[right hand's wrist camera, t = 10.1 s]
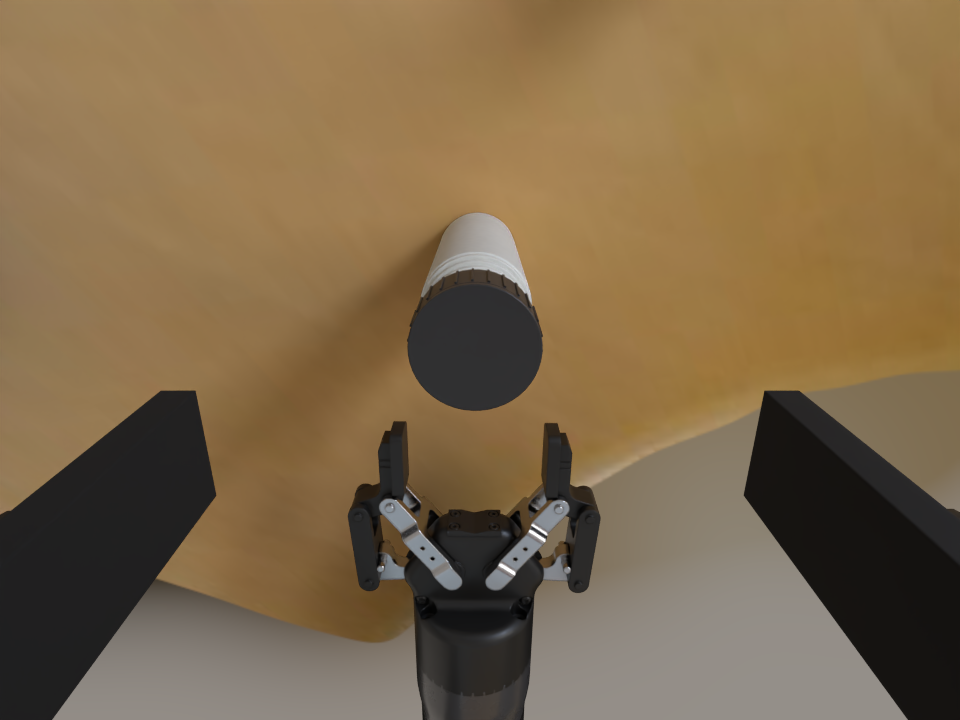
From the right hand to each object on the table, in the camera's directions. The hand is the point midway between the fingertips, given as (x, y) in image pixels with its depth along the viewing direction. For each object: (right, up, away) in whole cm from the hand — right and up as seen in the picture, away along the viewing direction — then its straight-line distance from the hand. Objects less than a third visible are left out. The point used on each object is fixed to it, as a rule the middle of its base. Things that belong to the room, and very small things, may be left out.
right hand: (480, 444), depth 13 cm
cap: (0, +2, +6) cm, 7 cm away
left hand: (0, -2, +19) cm, 19 cm away
